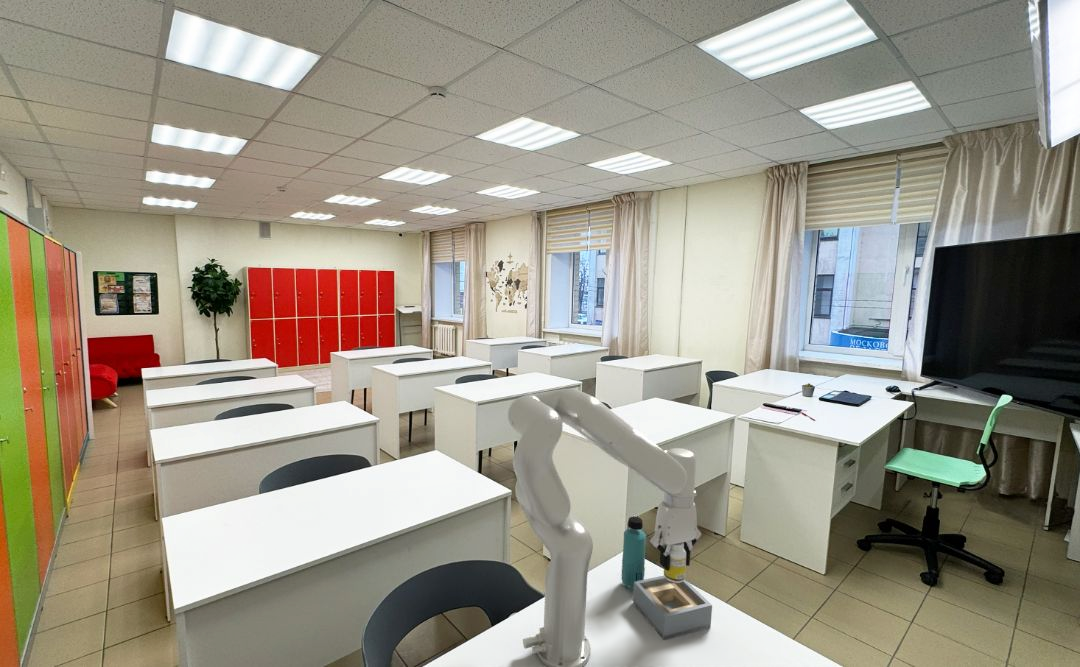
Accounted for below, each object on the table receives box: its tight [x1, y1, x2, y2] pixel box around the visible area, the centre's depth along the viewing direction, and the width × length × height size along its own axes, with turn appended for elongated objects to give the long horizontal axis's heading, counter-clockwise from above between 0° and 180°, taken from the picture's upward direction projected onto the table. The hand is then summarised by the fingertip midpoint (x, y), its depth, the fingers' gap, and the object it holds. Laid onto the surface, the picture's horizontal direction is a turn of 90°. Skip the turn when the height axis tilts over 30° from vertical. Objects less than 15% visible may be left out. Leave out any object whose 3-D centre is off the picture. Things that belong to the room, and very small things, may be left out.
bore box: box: [632, 575, 713, 641], centre depth 120 cm, size 14×14×6 cm
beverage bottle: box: [620, 516, 647, 589], centre depth 131 cm, size 6×7×20 cm
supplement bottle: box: [663, 542, 687, 583], centre depth 119 cm, size 5×5×10 cm
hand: (674, 564), depth 119 cm, fingers closed on supplement bottle, 5 cm apart
